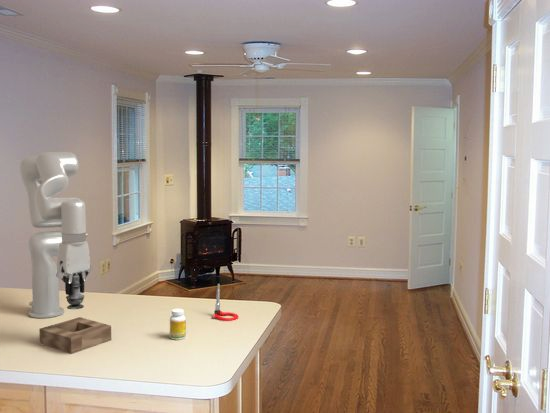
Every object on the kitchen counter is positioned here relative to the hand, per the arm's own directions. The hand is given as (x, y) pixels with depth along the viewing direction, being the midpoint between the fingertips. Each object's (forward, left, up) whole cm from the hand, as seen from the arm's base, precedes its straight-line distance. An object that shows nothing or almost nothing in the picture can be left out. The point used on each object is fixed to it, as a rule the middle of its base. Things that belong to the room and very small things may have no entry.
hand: (75, 292), depth 196 cm
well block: (0, 0, -17) cm, 17 cm away
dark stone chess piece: (0, 0, -5) cm, 5 cm away
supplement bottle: (+24, +23, -17) cm, 37 cm away
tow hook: (+23, +51, -17) cm, 59 cm away
